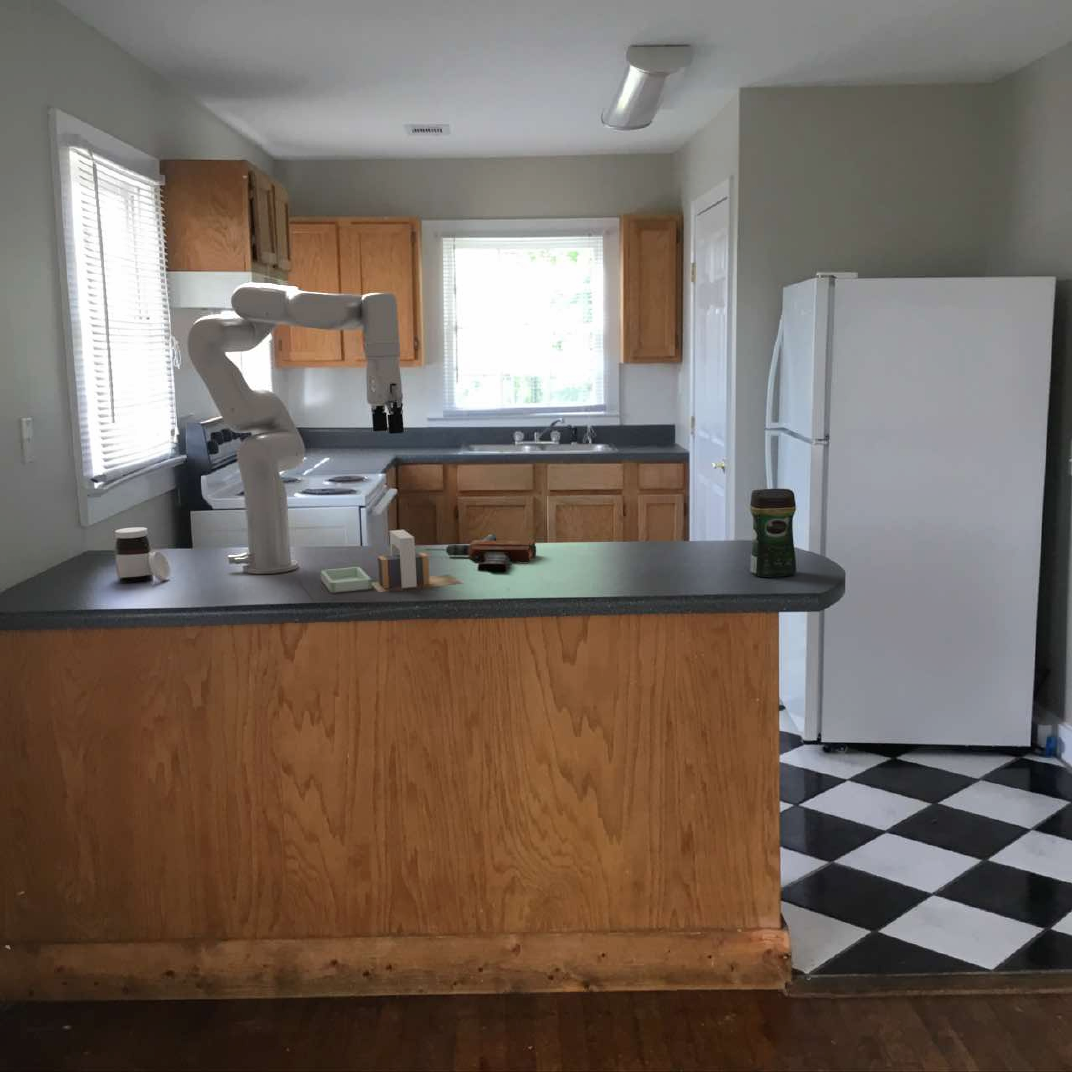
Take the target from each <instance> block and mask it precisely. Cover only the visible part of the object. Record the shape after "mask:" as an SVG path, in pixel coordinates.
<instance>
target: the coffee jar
mask: <svg viewBox="0 0 1072 1072" xmlns="http://www.w3.org/2000/svg"><path fill="white" fill-rule="evenodd" d="M795 496H796V495H795V492H793V490H791V489H790V488H763V489H753V490H752V491H751V496H750V505H749V509H750V514H751V517H752V526H753V528H752V542H751V550H750V552H751V554H750V562H749V564H750V565H749V566H750V568H749V571H750V573H751V574H752V575H754V576H757V577H764V578H777V577H778V578H779V577H780V578H781V577H787V576H793V575H794V574H796V573H797V562H796V551H795V542H794V531H793V530H794V529H793V526H794V523H793V522H794V521H793V519H794V515H795V513H796V510H797V504H796V497H795Z"/></svg>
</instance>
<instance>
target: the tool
mask: <svg viewBox="0 0 1072 1072" xmlns="http://www.w3.org/2000/svg"><path fill="white" fill-rule="evenodd" d="M425 551H445V552H446V554H447V555H448V556H454V557H455V556H459V557H461V556H463V557H464V556H467V557H468V558H469V560H470V561H472V562H474V563H478V565H477V571H486V572H488V573H489V572H492V574H493V573H496V574H497V573H498V574H507V573H508V568H509V567H510V565H511V563H510V562H528V563H529V561H531V560H530V559H533V558H534V557H535V556H536V555H537V546H536V541H535V540H497V537H496V535H495V534H493V533H490V534H488V535H486V537H484V538H483V539H481V540H477V539H476V540H473V541H472V542H470V543H469V544H449V545H447V547H446V549H444V548H443V549H437V548H436V549H434V548H433V549H431V548H429V549H428V548H427V549H425ZM536 557H537V556H536ZM536 557H535V558H536ZM535 558H534V559H535ZM534 559H533V560H534Z"/></svg>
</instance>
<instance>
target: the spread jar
mask: <svg viewBox="0 0 1072 1072" xmlns="http://www.w3.org/2000/svg"><path fill="white" fill-rule="evenodd" d="M114 533H115V537H116V538H115V542H114V553H115V564H116V565H115V566H116V574H117V580H118V582H119V583H121V584H128V585H130V584H134V585H135V584H141V583H142V584H143V583H147V582H149V581H152V580H153V577H154V578H155V579H157V580H158V581H159V582H164V581H168V580H169V579H170V578H171V568H170V564H169V562H168V559H167V557H165V555H164V554H163V553H162V552H161V551H159V550H156V551H154V552H152V547H151V546H152V545H151V541H150V539H149V537H148V534H149V533H148V528H147V527H142V526H141V527H140V526H138V527H137V526H136V527H134V526H133V527H126V528H125V527H124V528H120V529H117V530H115V531H114Z"/></svg>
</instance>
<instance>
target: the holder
mask: <svg viewBox="0 0 1072 1072" xmlns="http://www.w3.org/2000/svg"><path fill="white" fill-rule="evenodd" d="M462 584H463V583H462V582H461V581H459V579H457V578H456V577H455V576H453V575H452V574H441V575H433V576H432V575H431V576H430V575H429V584H421V585H417V587H407V588H402V587H392V588H382V587H381V586H380V585H379V581H372V588H374V589H376V591H377V592H378V593H384V592H395V591H406V590H413V589H426V588H434V587H441V586H442V587H444V586H452V585H453V586H454V585H462Z"/></svg>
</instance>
